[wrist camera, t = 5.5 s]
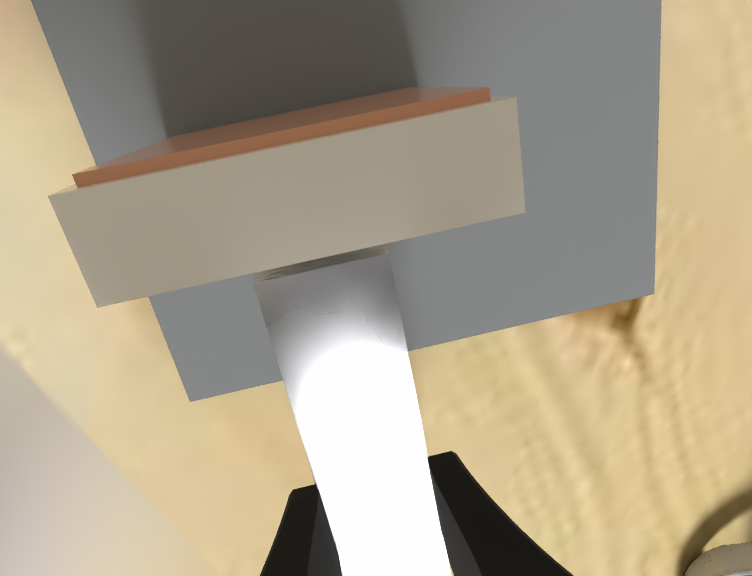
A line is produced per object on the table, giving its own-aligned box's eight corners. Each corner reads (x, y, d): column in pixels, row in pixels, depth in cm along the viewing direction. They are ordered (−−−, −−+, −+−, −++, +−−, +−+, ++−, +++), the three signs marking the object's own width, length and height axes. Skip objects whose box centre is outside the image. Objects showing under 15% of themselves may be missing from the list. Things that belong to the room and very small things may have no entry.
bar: (372, 218, 12) (389, 253, 9) (443, 577, 16) (466, 659, 14) (263, 242, 11) (253, 284, 9) (367, 596, 16) (377, 682, 14)
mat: (658, -341, 12) (670, -355, 11) (647, 289, 18) (654, 293, 17) (-48, -220, 11) (-61, -231, 11) (192, 395, 17) (190, 402, 17)
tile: (418, 84, 14) (515, 82, 8) (429, 157, 15) (525, 212, 8) (166, 137, 14) (42, 182, 7) (190, 208, 14) (97, 307, 8)
